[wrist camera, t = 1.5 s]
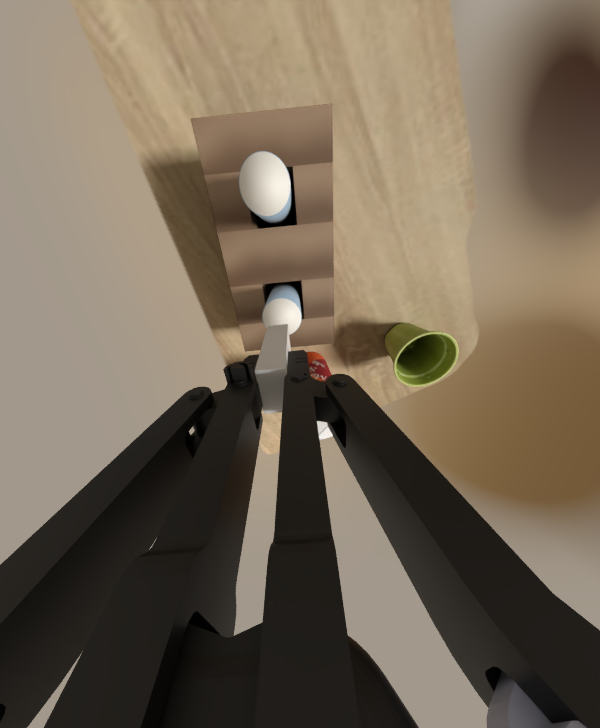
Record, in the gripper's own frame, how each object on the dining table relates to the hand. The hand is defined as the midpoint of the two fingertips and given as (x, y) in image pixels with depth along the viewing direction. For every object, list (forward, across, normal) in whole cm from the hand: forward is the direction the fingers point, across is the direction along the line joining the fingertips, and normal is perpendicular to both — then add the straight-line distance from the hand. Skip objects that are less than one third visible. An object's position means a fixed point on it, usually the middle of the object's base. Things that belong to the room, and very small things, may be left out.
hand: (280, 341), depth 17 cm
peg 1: (+15, 0, +10) cm, 18 cm away
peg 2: (+15, 0, 0) cm, 15 cm away
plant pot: (+21, +20, -10) cm, 31 cm away
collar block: (+21, 0, +6) cm, 22 cm away
